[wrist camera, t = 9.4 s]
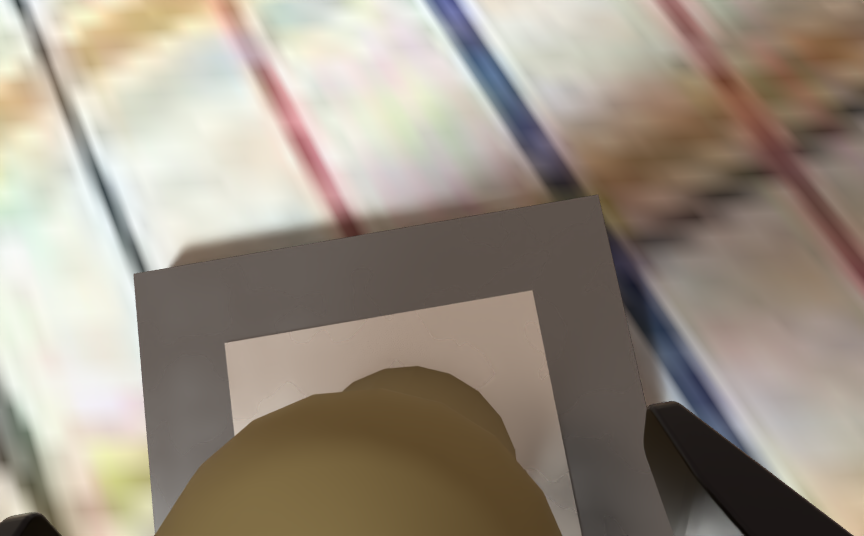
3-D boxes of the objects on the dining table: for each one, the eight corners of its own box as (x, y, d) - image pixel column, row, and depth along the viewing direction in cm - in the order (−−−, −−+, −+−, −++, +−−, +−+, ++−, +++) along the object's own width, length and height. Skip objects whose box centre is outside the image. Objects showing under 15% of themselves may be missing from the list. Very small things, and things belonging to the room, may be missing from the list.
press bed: (691, 681, 17) (717, 713, 15) (201, 767, 17) (175, 808, 15) (586, 208, 19) (599, 193, 18) (157, 281, 19) (131, 273, 18)
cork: (287, 585, 16) (-47, 1029, 5) (311, 358, 17) (76, 330, 6) (514, 605, 16) (662, 1110, 5) (524, 373, 17) (663, 371, 6)
